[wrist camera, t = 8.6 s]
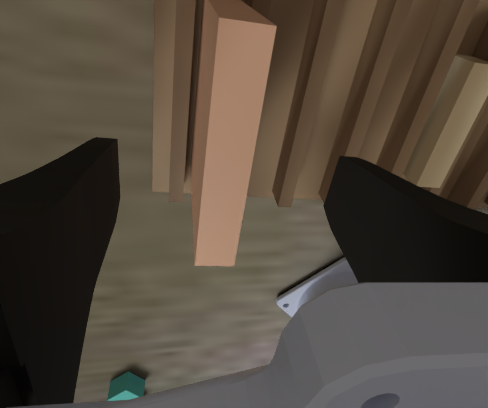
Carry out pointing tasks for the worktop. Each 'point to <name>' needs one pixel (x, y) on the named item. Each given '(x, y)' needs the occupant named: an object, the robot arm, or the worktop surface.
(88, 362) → the worktop surface
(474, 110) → the offcut
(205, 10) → the salmon rectangular slab
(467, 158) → the rack
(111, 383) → the teal pixel toy sword
